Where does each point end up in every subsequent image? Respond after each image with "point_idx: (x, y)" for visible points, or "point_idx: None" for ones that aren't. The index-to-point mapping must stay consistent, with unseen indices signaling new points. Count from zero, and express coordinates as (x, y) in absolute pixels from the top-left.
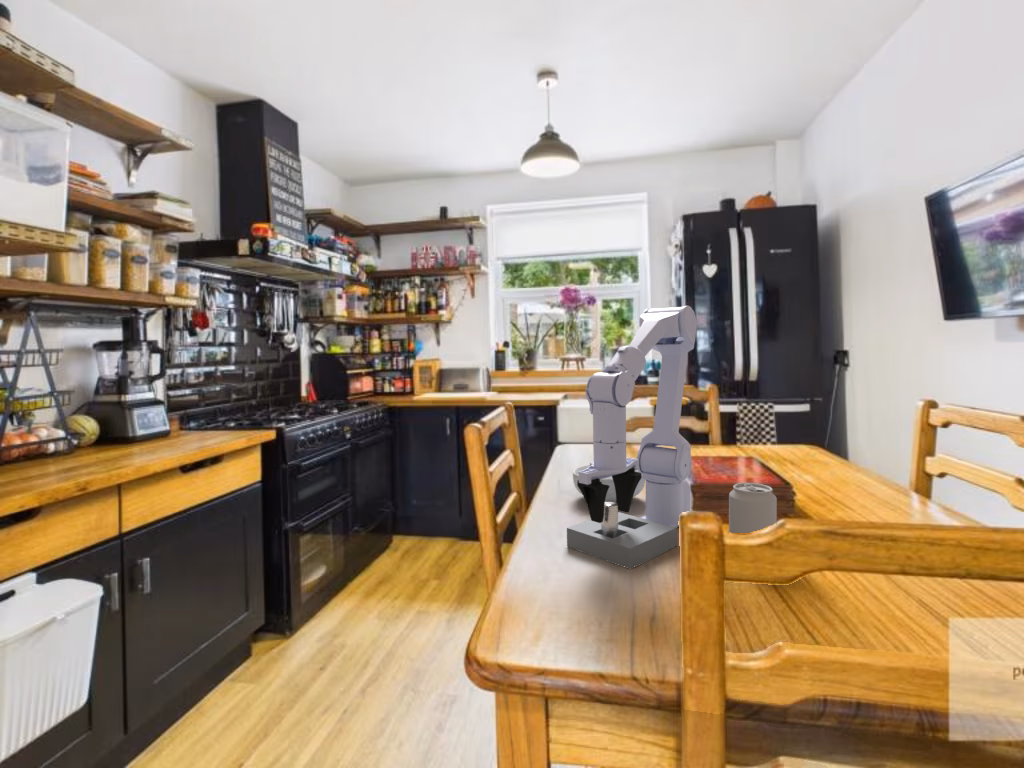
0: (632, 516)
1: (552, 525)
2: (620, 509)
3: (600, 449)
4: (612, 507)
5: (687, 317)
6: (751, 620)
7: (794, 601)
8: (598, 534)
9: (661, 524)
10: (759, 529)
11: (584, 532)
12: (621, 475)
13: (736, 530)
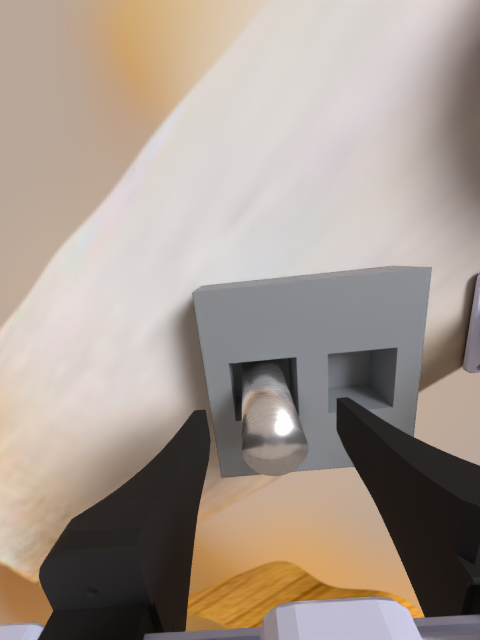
0: (417, 344)
1: (280, 117)
2: (338, 411)
3: None
4: (259, 471)
5: None
6: (229, 593)
7: (313, 598)
8: (227, 384)
9: (407, 430)
10: None
11: (208, 351)
12: (450, 573)
13: None
